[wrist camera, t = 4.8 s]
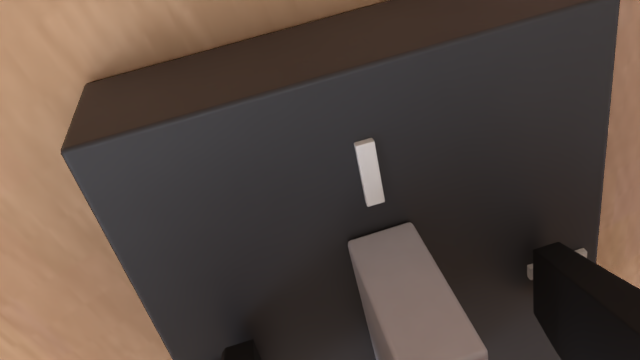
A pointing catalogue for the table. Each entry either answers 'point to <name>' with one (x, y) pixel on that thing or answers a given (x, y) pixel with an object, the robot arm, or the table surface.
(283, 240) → the panel
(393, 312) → the knob
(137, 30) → the table surface
